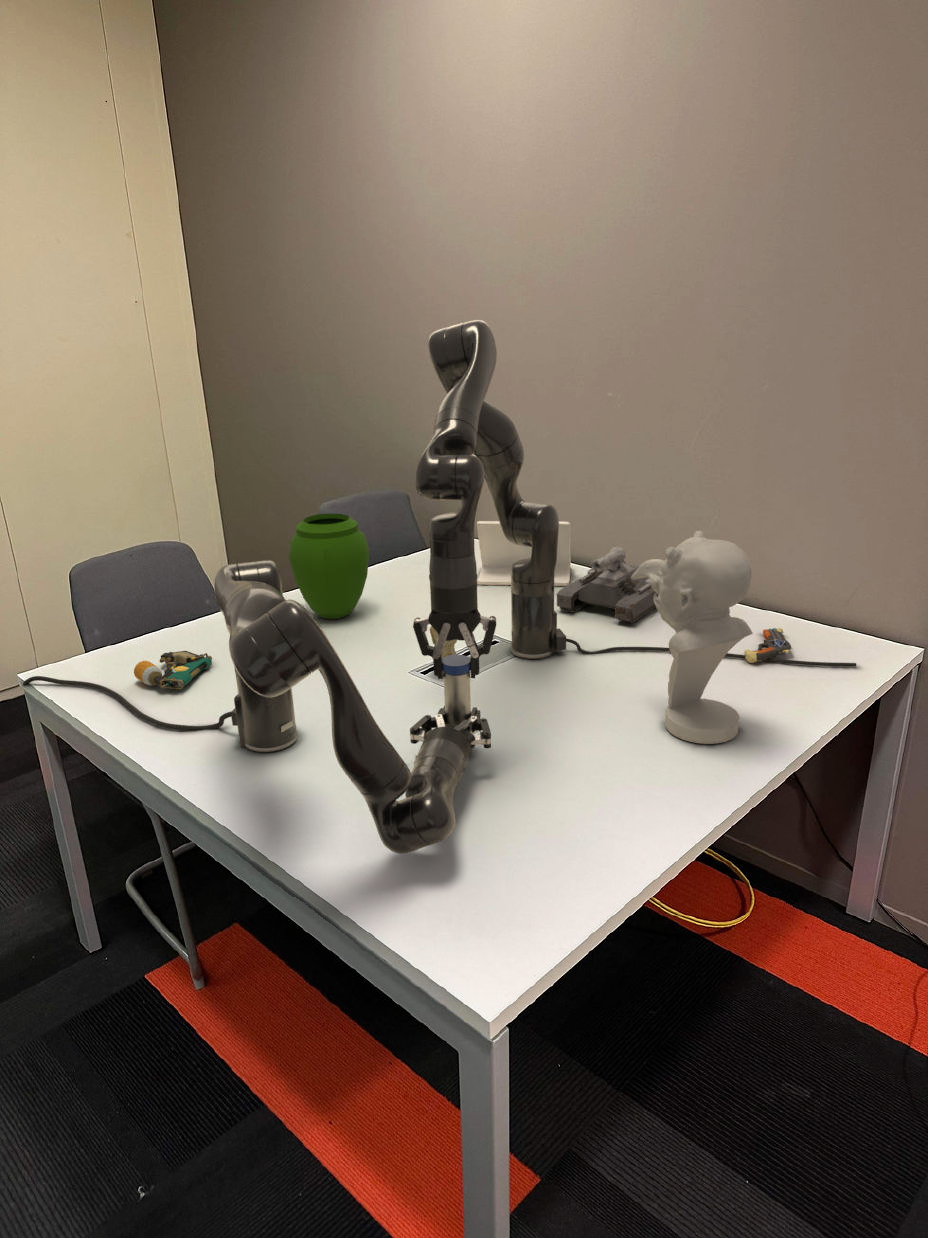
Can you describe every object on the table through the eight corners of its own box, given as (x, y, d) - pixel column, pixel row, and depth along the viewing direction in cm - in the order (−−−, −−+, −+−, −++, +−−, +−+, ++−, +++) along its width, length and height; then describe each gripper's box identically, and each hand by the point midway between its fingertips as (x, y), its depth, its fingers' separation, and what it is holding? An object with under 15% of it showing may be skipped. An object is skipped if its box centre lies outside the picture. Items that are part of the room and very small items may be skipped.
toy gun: (746, 653, 177) (797, 650, 175) (736, 627, 195) (782, 623, 193) (747, 666, 178) (798, 663, 176) (736, 638, 195) (782, 635, 193)
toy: (603, 584, 229) (605, 530, 224) (673, 597, 218) (677, 540, 213) (555, 612, 210) (556, 553, 205) (630, 627, 199) (633, 566, 194)
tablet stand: (569, 585, 229) (570, 524, 223) (476, 584, 232) (475, 523, 226) (570, 566, 246) (571, 508, 240) (484, 564, 249) (483, 507, 243)
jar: (442, 756, 146) (439, 666, 140) (452, 744, 150) (449, 656, 144) (466, 760, 144) (463, 669, 139) (475, 748, 148) (473, 659, 142)
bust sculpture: (671, 682, 170) (682, 511, 158) (763, 732, 151) (784, 540, 138) (606, 701, 164) (613, 523, 151) (694, 755, 144) (709, 555, 131)
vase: (389, 608, 216) (383, 514, 208) (339, 633, 201) (330, 533, 192) (330, 596, 226) (322, 506, 218) (278, 619, 211) (267, 523, 202)
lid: (437, 672, 140) (437, 664, 140) (448, 661, 145) (448, 653, 144) (464, 676, 139) (464, 667, 138) (475, 665, 143) (475, 656, 142)
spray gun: (177, 659, 191) (231, 671, 185) (120, 684, 176) (176, 698, 171) (176, 641, 190) (230, 653, 184) (118, 665, 175) (174, 678, 169)
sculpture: (458, 662, 183) (456, 596, 178) (460, 676, 176) (457, 608, 171) (431, 663, 183) (428, 597, 177) (431, 677, 176) (428, 609, 171)
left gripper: (486, 742, 129) (501, 693, 145) (394, 736, 132) (419, 689, 147) (487, 785, 132) (502, 732, 147) (397, 779, 134) (421, 728, 150)
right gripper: (497, 571, 139) (499, 667, 145) (410, 573, 140) (415, 668, 146) (498, 586, 132) (500, 685, 138) (406, 588, 133) (412, 687, 139)
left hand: (460, 711), depth 147 cm, fingers closed on jar, 4 cm apart
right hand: (456, 676), depth 142 cm, fingers closed on lid, 5 cm apart
